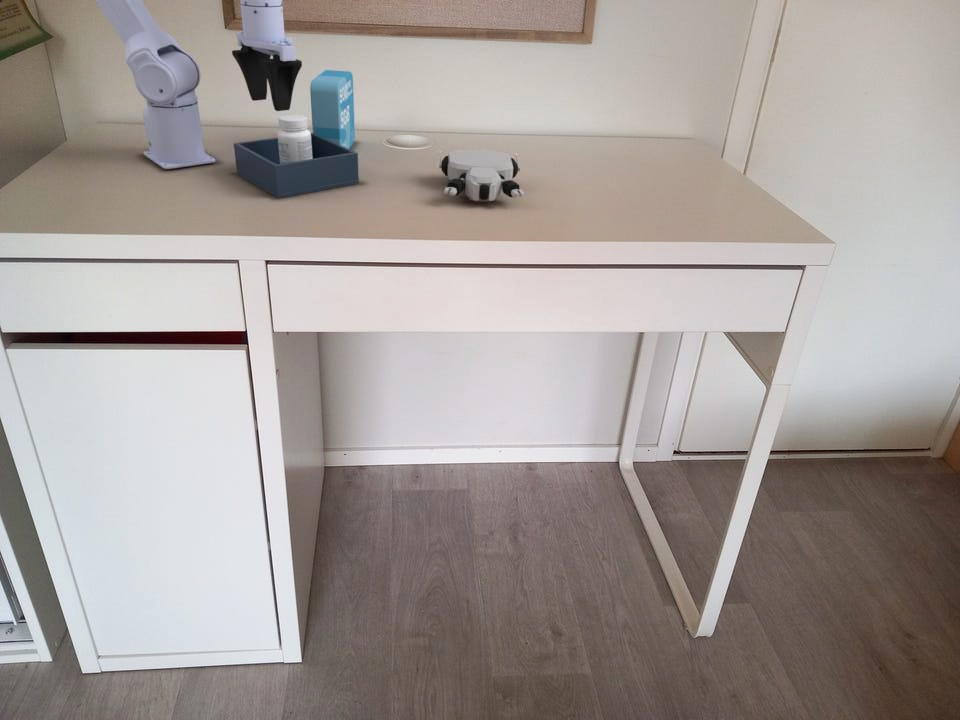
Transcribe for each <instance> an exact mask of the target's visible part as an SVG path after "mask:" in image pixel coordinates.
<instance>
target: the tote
mask: <svg viewBox="0 0 960 720" xmlns="http://www.w3.org/2000/svg"><path fill="white" fill-rule="evenodd" d="M310 133H311V143H312V157H313V159H308V160H302V161H295V162H289V163H282V164H280V157H279V146H278V136H276V137H271V138H263V139H256V140H249V141H240V142H233V150H234V151H233V152H234V161H235V169H236V174H237V175H239V176H240V177H241V178H243V179H245V180H247V181H248V182H250V183H252V184H253V185H255V186H257V187H259V188H260V189H262V190H263V191H265V192H267V193H268V194H270V195H272V196H273V197H275V198H277V199H281V198H287V197H293V196H299V195H304V194H309V193H315V192H320V191H325V190H332V189H336V188H342V187H347V186H348V187H349V186H352V185H353V186H354V185H358V184H359V182H360V181H359V180H360V179H359V152H356V151H354V150H352V149H350V148H349V149H348V148H345V147H343V146H341V145H339V144H337V143H334V142H332V141H330V140H328V139H326V138H323V137H321V136H319V135H317V134H315V133H313V132H310Z"/></svg>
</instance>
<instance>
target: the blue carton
mask: <svg viewBox="0 0 960 720" xmlns="http://www.w3.org/2000/svg"><path fill="white" fill-rule="evenodd" d="M309 91H310V92H309V95H310V108H311V109H310V110H311V124H312V125H311V127H312V133H315V134H317V135H319V136H321V137H323V138H326V139H328V140H330V141H332V142H334V143H337V144H339V145H341V146H343V147H345V148H348V149H350V148H351V147H352V146H353V144H354V143H355V137H356V136H355V134H356V130H355V129H356V128H355V127H356V126H355V104H354V103H355V100H354V99H355V97H354V76H353V72H351V71H348V70H335V69H334V70H333V69H324V71H322V72H321V73H319V74H318V75H317V76H315V77H314V78H313V79H311V81H310V87H309Z"/></svg>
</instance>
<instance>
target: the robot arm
mask: <svg viewBox="0 0 960 720" xmlns="http://www.w3.org/2000/svg"><path fill="white" fill-rule="evenodd" d="M94 1H95V2H96V3H97V5H98V7H99V8H100V9H101V12H102V13H103V14H104V15H105V17H106V18H107V20H108V21H109V23H110V25H111V26H112V27H113V28H114V30H115V32H116V33H117V35H118V36H119V38H120V39H121V40H122V42H123V43H124V45H125V55H124V56H125V59H124V60H125V63H126V64H127V66H128V67H129V69H130V71H131V73H132V77H133V79H134V80H133V81H134V84H135V87H136V89H137V91H138V92H139V94H140V95H141V96H142V97H143V98H144V99H145V102H146V103H145V105H144V107H143V112H142V116H143V122H144V128H145V134H146V139H147V145H148V150H147V151H143V153H142V154H143V155H144V157H146V158H148V159H149V160H150V161H152V162H153V163H154V164H156V165H158V166H159V167H161V168H162V169H164V170H171V169H179V168H185V167H186V168H187V167H193V166H199V165H200V166H201V165H206V164H213V163H216V158H214V157H212V156H211V155H209V154H208V153H206V151H205V145H204V143H205V142H204V137H203V129H202V122H201V115H200V109H199V102H198V97H197V94H196V89H197V87H198V86H199V84H200V83H201V70H200V67H199V64H198V63H197V60H196V59H194V57H193V56H192V55H191V54H190V53H188V52H186V51H185V50H184V49H183V48H182V47H181V46H180V45H179V44H178V42H177V40H176V39H175V38H174V37H173V36H171V35H170V34H169V33H167V32H166V31H164V30H163V28H160V27H159V25H158V24H157V22H156V21H155V19H154V18H153V16H152V15H151V13H150V12H149V10H148V9H147V7H146V5H145V4H144V3H143V0H94ZM239 3H240V14H241V24H242V25H241V26H242V31H237V32H236V40H237V46H238V47H240V49H233V50H232V51H231V54H232V57H233V58H234V60H235V61H236V63H237V64H238V66H239V68H240V71H241V73H242V76H243V78H244V80H245V84H246V87H247V91H248V93H249V96H250V99H251V100H252V101H253V102H255V101H265V100H267V96H268V86H269V91H270V97H271V102H272V106H273V108H274V111H276V112H283V111H290V109H291V104H292V99H293V93H294V87H295V84H296V80H297V77H298V74H299V72H300V71H301V69H302V66H303V62H302V60H300V59H297V57H296V56H297V54H296V45H293V38H292V37H290V36H286V35H285V23H284V22H285V21H284V7H283V0H239ZM271 57H272V58H271Z"/></svg>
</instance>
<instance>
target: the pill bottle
mask: <svg viewBox="0 0 960 720" xmlns="http://www.w3.org/2000/svg"><path fill="white" fill-rule="evenodd" d="M278 126H279V131H278V132H277V137H278V146H279V157H280V164H282V163H289V162H295V161H302V160H308V159H313V157H312V143H311V133H312V132H311V131H310V130H309V129H308V128H309V127H308V126H309V124H308V118H307V115H303V114H293V113H290V114H289V113H288V114H282V115H280V116H278Z"/></svg>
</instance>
